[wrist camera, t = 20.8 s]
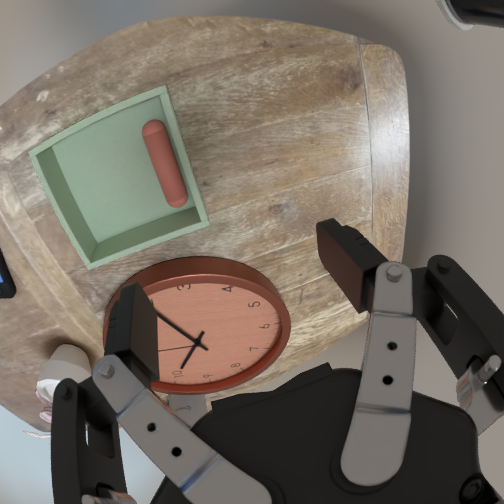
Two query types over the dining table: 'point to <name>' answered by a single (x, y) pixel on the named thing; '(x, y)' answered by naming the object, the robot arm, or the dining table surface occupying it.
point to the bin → (117, 181)
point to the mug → (188, 406)
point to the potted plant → (61, 372)
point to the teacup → (47, 411)
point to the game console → (5, 281)
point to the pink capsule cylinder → (164, 163)
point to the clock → (211, 323)
